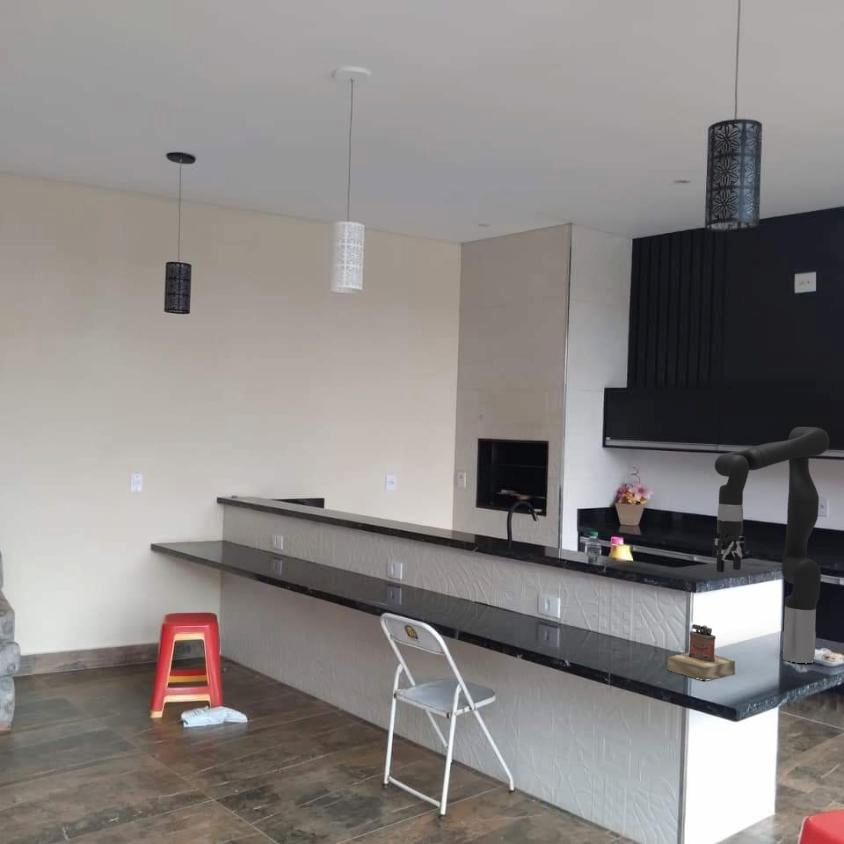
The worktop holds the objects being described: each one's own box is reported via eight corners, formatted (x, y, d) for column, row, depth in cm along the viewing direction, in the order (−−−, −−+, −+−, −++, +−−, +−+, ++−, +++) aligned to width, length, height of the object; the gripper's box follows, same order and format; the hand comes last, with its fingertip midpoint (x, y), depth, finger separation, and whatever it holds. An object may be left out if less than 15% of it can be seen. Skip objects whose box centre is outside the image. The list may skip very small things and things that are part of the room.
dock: (698, 663, 279) (698, 650, 279) (734, 674, 269) (735, 660, 269) (667, 670, 270) (668, 656, 270) (704, 681, 260) (704, 667, 260)
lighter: (716, 660, 268) (718, 627, 268) (711, 662, 266) (712, 629, 266) (691, 654, 274) (693, 622, 274) (686, 656, 271) (687, 623, 271)
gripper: (733, 516, 284) (731, 567, 284) (705, 518, 275) (704, 571, 275) (754, 518, 278) (752, 570, 278) (727, 521, 269) (725, 574, 269)
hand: (728, 570), depth 277 cm, fingers open, 8 cm apart
